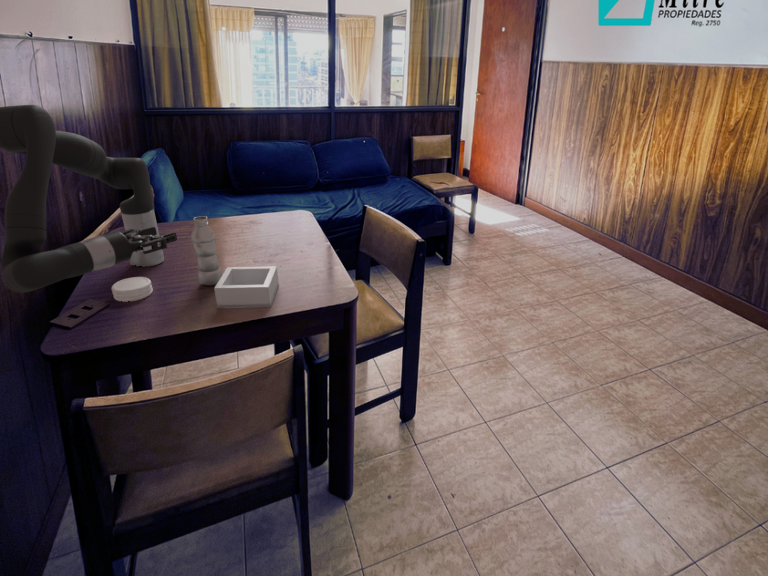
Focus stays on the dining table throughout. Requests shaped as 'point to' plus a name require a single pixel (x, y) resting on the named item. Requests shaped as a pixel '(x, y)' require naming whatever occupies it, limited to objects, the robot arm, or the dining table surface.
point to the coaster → (132, 289)
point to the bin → (247, 287)
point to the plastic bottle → (205, 252)
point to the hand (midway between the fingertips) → (165, 233)
